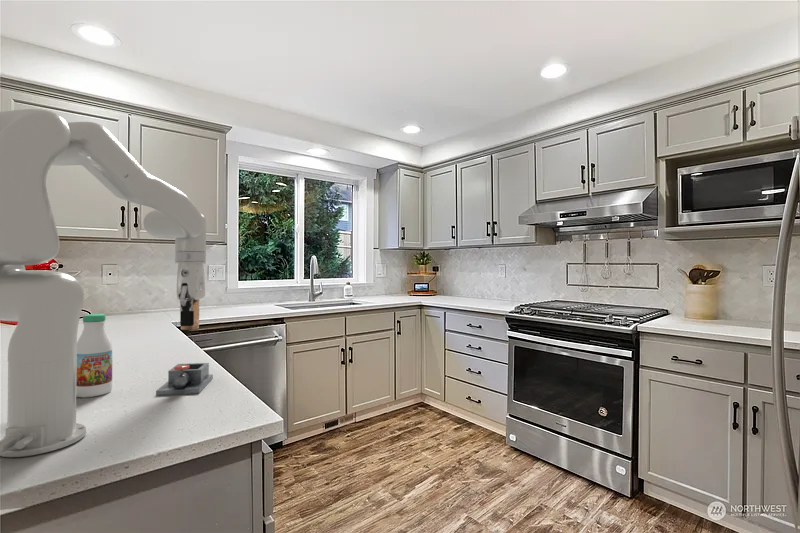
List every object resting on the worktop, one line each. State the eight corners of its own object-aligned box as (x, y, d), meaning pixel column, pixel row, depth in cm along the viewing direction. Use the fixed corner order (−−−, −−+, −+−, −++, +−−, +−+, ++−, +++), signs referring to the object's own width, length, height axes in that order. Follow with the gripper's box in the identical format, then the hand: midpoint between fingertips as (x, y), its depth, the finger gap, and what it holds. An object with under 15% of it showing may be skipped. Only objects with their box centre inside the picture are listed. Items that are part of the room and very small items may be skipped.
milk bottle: (67, 395, 101) (68, 315, 101) (102, 387, 108) (103, 312, 108) (83, 400, 98) (84, 317, 98) (118, 391, 105) (119, 314, 105)
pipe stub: (196, 329, 110) (196, 300, 110) (178, 330, 109) (178, 300, 109) (200, 327, 115) (201, 298, 115) (183, 327, 114) (184, 298, 114)
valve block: (199, 393, 104) (199, 368, 104) (156, 395, 102) (156, 370, 102) (212, 378, 118) (212, 356, 118) (175, 380, 116) (175, 357, 115)
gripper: (196, 258, 104) (195, 329, 105) (212, 258, 121) (212, 320, 121) (164, 257, 103) (163, 329, 103) (185, 258, 119) (184, 320, 120)
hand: (189, 323), depth 112 cm, fingers closed on pipe stub, 4 cm apart
